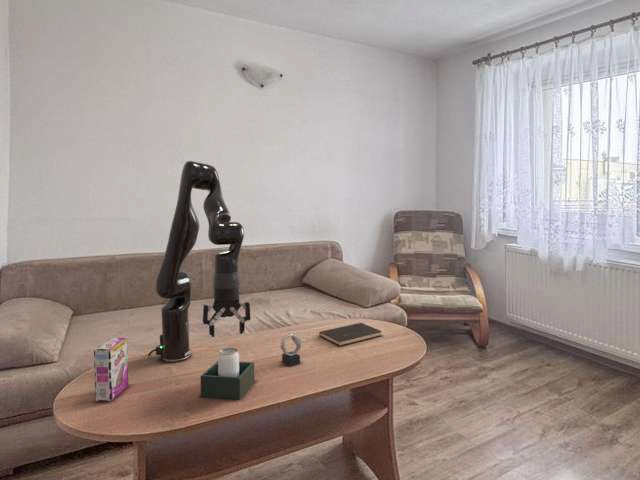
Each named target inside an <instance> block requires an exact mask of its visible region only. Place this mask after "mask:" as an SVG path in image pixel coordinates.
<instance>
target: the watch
mask: <svg viewBox="0 0 640 480" xmlns="http://www.w3.org/2000/svg"><path fill="white" fill-rule="evenodd" d="M289 338H291V341H292V342H293V343H294V344H295V345H296V347H295V349H294V350H293V351H292V350H291V351H288V350H287V348H286V345H285V343H286V342H287V340H288V339H289ZM302 344H303V341H302V339H301V338H300V337H299V335H298V334H295V333H287V334H285V335H284V336H283V337H282V339H281V341H280V349H281V351H282V352H283V353H281V362H282V363H283V364H285V365H287V366H288V367H292V366H293V367H294V366H296V365H300V364H301V355H300V354H298V353H299V352H300V350H301V348H302Z"/></svg>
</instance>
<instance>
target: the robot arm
mask: <svg viewBox="0 0 640 480" xmlns="http://www.w3.org/2000/svg"><path fill="white" fill-rule="evenodd" d="M178 188H179V189H178V195H177V202H176V205H175V210H174V214H173V218H172V222H171V225H170V229H169V233H168V234H169V235H168V239H167V244H166V248H165V251H164V256H163V259H162V262H161V265H160V268H159V271H158V273H157V277H156V280H155V286H154V287H155V292H156V294H157V296H158V297H159V298H161V299H165V300H167V299H168V300H167V302H166V303H165V304H164V305H163V306H162V307H161V334H160V335H159V345H157V346H156V347H155V348H154V349H152V350H150V351H149V353H147V356H148V357H150V356H151V355H152V354H153V352H155V356H159V357H160V360H161V361H163V362H166V363H178V362H182V361H186V360H188V359H189V358H190V356H191V353H192V350H191V349H190V322H189V321H190V319H189V308H190V307H191V301H192V300H191V297H192V296H191V295H192V293H191V292H192V285H191V279H190V276H189V275H188V273H186V272H185V271H183V270H181V267H182V265H183V263H184V261H185V260H186V258H187V257H188V255H189V254H190V253H191V251H192V250H193V249H194V247H195V245H196V243H197V239H198V235H199V231H200V220H199V219H198V215H197V213H196V211H195V209H194V206H193V201H192V192H193V191H192V190H193V189H196V190H201V191H207V192H208V194H207V196H206V197H205V199H204V201H203V205H202V206H203V211H204V214H205V217H206V219H207V223H208V233H207V234H208V240H209V241H210V243H212V244H213V245H215V246H226V245H229V247H228V248H227V249H226V250H223V251H219V252H218V253H215V255H214V276H213V303H212V304H208V303H204V304H203V305H202V307H203V309H202V324H203V325H208V333H209V336H211V338H214V337H215V323H216V322H217V321H219V318H228V317H229V318H233V317H234V316H235V317H236V318H237V320H239V321H238V323H239V325H238V327H239V329H238V331H239V334H240V335H243V333H244V332H245V327H246V326H245V324H246V322H248V321H250V320H251V305H250V302H249V300H244V301H241V302H240V284H241V283H240V282H241V281H240V275H239V274H240V273H239V257H240V254H241V253H240V252H241V248H242V245H243V241H244V238H245V229H244V226H243V225H242V224H241V223H240V222H238V221H231V219H232V218H231V217H232V216H231V213H230V211H229V208H228V206H227V204H226V202H225V199H224V197H223V191H222V186H221V181H220V178H219V173H218V171H217V169H216V167H215V166H214V165H211V164H209V163H203V162H198V161H193V160H187V161H186V162H185V163H184V165H183V167H182V171H181V174H180V182H179V187H178ZM241 307H242V309H244V313H245V315H244V316H243V315H242V314H241V313H240V312H239V310H240V308H241ZM212 309H213V310H214V313H213V314H212V316H211V318H210V319H209V312H211V310H212Z"/></svg>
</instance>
